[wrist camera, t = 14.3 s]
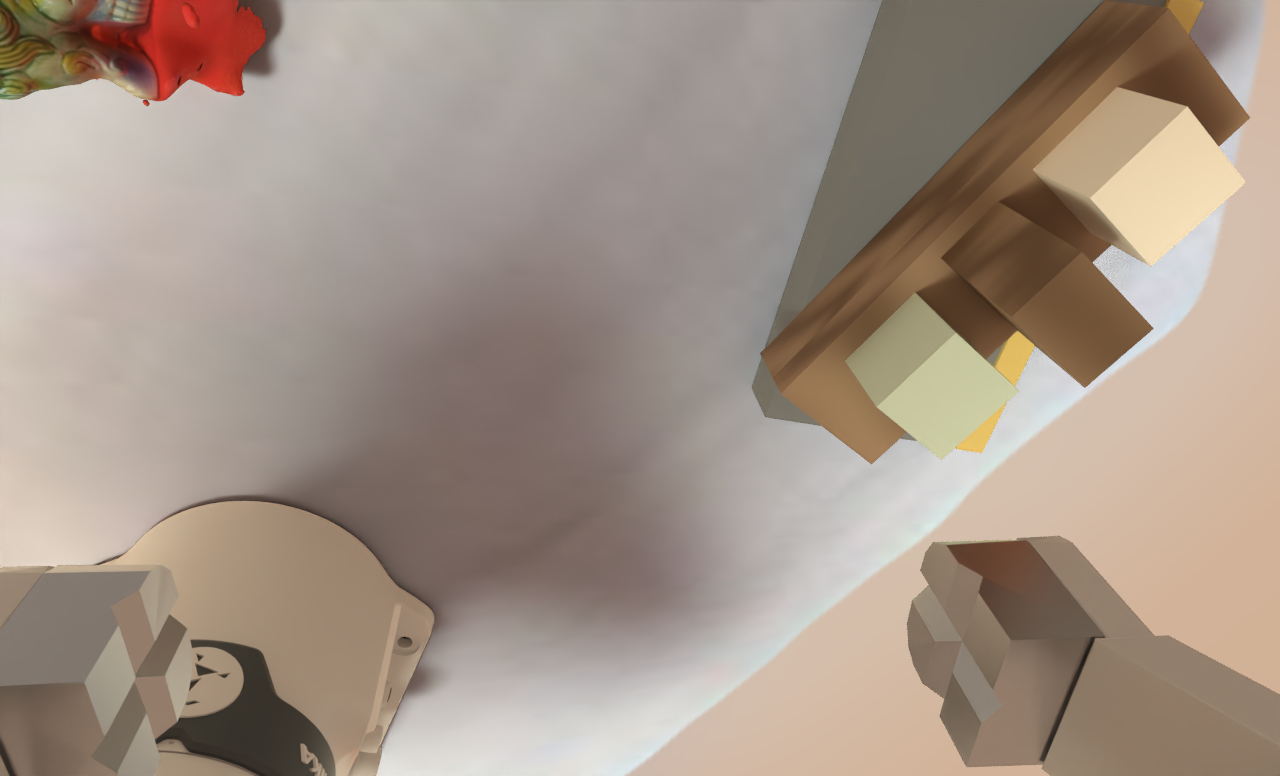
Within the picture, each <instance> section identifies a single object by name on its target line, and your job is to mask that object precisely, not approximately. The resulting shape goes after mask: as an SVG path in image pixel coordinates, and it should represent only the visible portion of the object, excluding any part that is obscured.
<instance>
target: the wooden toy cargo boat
mask: <svg viewBox="0 0 1280 776" xmlns="http://www.w3.org/2000/svg"><path fill="white" fill-rule="evenodd" d="M1117 87H1119V88H1123V89H1126V90H1130V91H1134V92H1137V93H1141V94H1144V95H1148V96H1152V97H1155V98H1159V99H1162V100H1166V101H1170V102H1173V103H1177V104H1180V105H1184V106H1188V108H1189V109H1190V110H1191V112H1192V113H1193V114H1194V116H1195V117H1196V118H1197V119H1198V121H1199V122H1200V123H1201V125H1202V126H1203V127H1204V128H1205V130H1206V131H1207V132H1208V134H1209V135H1210V136H1211V138H1212V139H1213V140H1214V141H1215V143H1216V144H1217V145H1218V147H1219V146H1220V145H1221V144H1222V143H1223V142H1224V141H1225V140H1227V139H1228V138H1229V137H1230V136H1231V135H1232V134H1233V133H1234V132H1235V131H1236V130H1237V129H1239V128H1240V127H1241V126H1242V125H1243V124H1244V123H1245V122H1246V121H1247V120H1248V119H1249V118H1250V117H1249V116H1248V114H1247V113H1246V111H1245V110H1244V109H1243V107H1242V106H1241V105H1240V103H1239V102H1238V101H1237V99H1236V98H1235V97H1234V95H1233V94H1232V93H1231V91H1230V90H1229V89H1228V87H1227V86H1226V84H1225V83H1224V82H1223V80H1222V79H1221V78H1220V76H1219V75H1218V74H1217V72H1216V71H1215V70H1214V68H1213V67H1212V66H1211V64H1210V63H1209V62H1208V60H1207V59H1206V57H1205V56H1204V55H1203V53H1202V52H1201V51H1200V49H1199V48H1198V47H1197V45H1196V44H1195V43H1194V41H1193V40H1192V39H1191V37H1190V36H1189V35H1188V33H1187V32H1186V30H1185V29H1184V28H1183V26H1182V25H1181V24H1180V22H1179V21H1178V20H1177V18H1176V17H1175V16H1174V14H1173V13H1172V12H1171V10H1170V9H1169V8H1163V7H1155V6H1148V5H1140V4H1132V3H1124V2H1116V1H1108V0H1105V1H1104V2H1103V3H1102V4H1101V5H1100V6H1099V7H1098V8H1097V9H1096V10H1095V11H1094V12H1093V13H1092V14H1091V15H1090V16H1089V17H1088V18H1087V19H1086V20H1085V21H1084V22H1083V24H1082V25H1081V26H1080V27H1079V28H1078V29H1077V30H1076V31H1075V32H1074V33H1073V34H1072V35H1071V36H1070V37H1069V38H1068V39H1067V40H1066V41H1065V42H1064V43H1063V44H1062V45H1061V46H1060V47H1059V48H1058V49H1057V50H1056V51H1055V52H1054V53H1053V54H1052V55H1051V56H1050V57H1049V58H1048V59H1047V60H1046V61H1045V62H1044V63H1043V64H1042V66H1041V67H1040V68H1039V69H1038V70H1037V71H1036V72H1035V73H1034V74H1033V75H1032V76H1031V77H1030V78H1029V79H1028V80H1027V81H1026V82H1025V83H1024V84H1023V85H1022V86H1021V87H1020V88H1019V89H1018V90H1017V91H1016V92H1015V93H1014V94H1013V95H1012V96H1011V97H1010V98H1009V99H1008V100H1007V101H1006V102H1005V103H1004V104H1003V105H1002V106H1001V108H1000V109H999V110H998V111H997V112H996V113H995V114H994V115H993V116H992V117H991V118H990V119H989V120H988V121H987V122H986V123H985V124H984V125H983V126H982V127H981V128H980V129H979V130H978V131H977V132H976V133H975V134H974V135H973V136H972V137H971V138H970V139H969V140H968V141H967V142H966V143H965V144H964V145H963V146H962V147H961V148H960V150H959V151H958V152H957V153H956V154H955V155H954V156H953V157H952V158H951V159H950V160H949V161H948V162H947V163H946V164H945V165H944V166H943V167H942V168H941V169H940V170H939V171H938V172H937V173H936V174H935V175H934V176H933V177H932V178H931V179H930V180H929V181H928V182H927V183H926V184H925V185H924V186H923V187H922V188H921V189H920V190H919V192H918V193H917V194H916V195H915V196H914V197H913V198H912V199H911V200H910V201H909V202H908V203H907V204H906V205H905V206H904V207H903V208H902V209H901V210H900V211H899V212H898V213H897V214H896V215H895V216H894V217H893V218H892V219H891V220H890V221H889V222H888V223H887V224H886V225H885V226H884V227H883V228H882V229H881V230H880V231H879V232H878V234H877V235H876V236H875V237H874V238H873V239H872V240H871V241H870V242H869V243H868V244H867V245H866V246H865V247H864V248H863V249H862V250H861V251H860V252H859V253H858V254H857V255H856V256H855V257H854V258H853V259H852V260H851V261H850V262H849V263H848V264H847V265H846V266H845V267H844V268H843V269H842V270H841V271H840V272H839V273H838V274H837V276H836V277H835V278H834V279H833V280H832V281H831V282H830V283H829V284H828V285H827V286H826V287H825V288H824V289H823V290H822V291H821V292H820V293H819V294H818V295H817V296H816V297H815V298H814V299H813V300H812V301H811V302H810V303H809V304H808V305H807V306H806V307H805V308H804V309H803V310H802V311H801V312H800V313H799V314H798V315H797V316H796V318H795V319H794V320H793V321H792V322H791V323H790V324H789V325H788V326H787V327H786V328H785V329H784V330H783V331H782V332H781V333H780V334H779V335H778V336H777V337H776V338H775V339H774V340H773V341H772V342H771V343H770V344H769V345H768V346H767V347H766V348H765V349H764V350H763V351H762V352H761V353H760V354H761V356H762V358H763V360H764V362H765V364H766V366H767V368H768V370H769V372H770V373H771V375H772V377H773V379H774V381H775V383H776V385H777V387H778V389H779V391H780V393H781V394H782V395H783V396H784V397H785V398H787V399H788V400H789V401H791V402H792V403H793V404H794V405H796V406H797V407H798V408H800V409H801V410H802V411H803V412H805V413H806V414H807V415H809V416H810V417H811V418H812V419H814V420H815V421H816V422H818V423H819V424H820V425H822V426H823V427H824V428H825V429H827V430H828V431H829V432H831V433H832V434H833V435H834V436H836V437H837V438H838V439H840V440H841V441H842V442H843V443H845V444H846V445H847V446H849V447H850V448H851V449H852V450H854V451H855V452H856V453H858V454H859V455H860V456H861V457H863V458H864V459H865V460H867V461H868V462H869V463H870V464H872V463H873V462H875V461H876V460H877V459H878V458H879V457H880V456H881V455H882V454H883V453H884V452H886V451H887V450H888V449H889V448H890V447H891V446H892V445H893V444H894V443H895V442H896V441H898V440H899V439H900V438H901V437H902V436H903V435H904V434H905V433H906V431H905V430H904V429H903V428H902V427H900V426H899V425H898V424H897V423H895V422H894V421H893V420H892V419H891V418H889V417H888V416H887V415H886V414H884V413H883V412H882V411H881V410H880V409H878V408H877V407H876V405H875V404H874V402H873V401H872V400H871V398H870V397H869V395H868V394H867V392H866V391H865V389H864V388H863V387H862V385H861V384H860V382H859V381H858V379H857V378H856V376H855V375H854V373H853V372H852V371H851V369H850V368H849V366H848V365H847V363H846V362H845V360H846V359H847V358H848V357H849V356H851V355H852V354H853V353H854V352H855V351H856V350H857V349H858V348H859V347H860V346H861V345H862V344H863V343H864V342H865V341H866V340H867V339H868V338H869V337H870V336H871V335H872V334H873V333H874V332H875V331H876V330H877V329H878V328H879V327H880V326H881V325H882V324H883V323H884V322H885V321H886V320H887V319H888V318H889V317H890V316H892V315H893V314H894V313H895V312H896V311H897V310H898V309H899V308H900V307H901V306H902V305H903V304H904V303H905V302H906V301H907V300H908V299H909V298H910V297H911V296H912V295H913V294H914V293H916V294H917V295H918V296H919V297H921V298H922V299H923V300H924V301H925V302H926V303H927V304H928V305H929V306H930V307H931V308H933V309H934V310H935V311H936V312H937V313H938V314H939V315H940V316H941V317H942V318H943V319H944V320H946V321H947V322H948V323H949V324H950V325H951V326H952V327H953V328H954V329H955V330H956V331H958V332H959V333H960V334H961V335H962V336H963V337H964V338H965V339H966V340H967V341H968V342H969V343H971V344H972V345H973V346H974V347H975V348H976V349H977V350H978V351H979V352H980V353H981V354H982V355H983V356H984V357H985V358H986V359H987V358H988V357H989V356H990V355H992V354H993V353H994V352H995V351H996V350H997V349H998V348H999V347H1000V346H1001V345H1002V344H1004V343H1005V342H1006V341H1007V340H1008V339H1009V338H1010V337H1011V336H1012V335H1013V334H1014V333H1016V332H1017V331H1019V332H1020V333H1021V334H1022V335H1023V336H1025V337H1026V338H1027V339H1028V340H1029V341H1030V342H1032V343H1033V344H1034V345H1035V346H1036V347H1037V348H1039V349H1040V350H1041V351H1042V352H1043V353H1044V354H1046V355H1047V356H1048V357H1049V358H1050V359H1051V360H1053V361H1054V362H1055V363H1056V364H1057V365H1059V366H1060V367H1061V368H1062V369H1063V370H1064V371H1066V372H1067V373H1068V374H1069V375H1070V376H1071V377H1073V378H1074V379H1075V380H1076V381H1077V382H1078V383H1080V384H1081V385H1082V386H1083V387H1084V388H1085V387H1086V386H1088V385H1089V384H1090V383H1091V382H1092V381H1093V380H1095V379H1096V378H1097V377H1098V376H1099V375H1100V374H1101V373H1103V372H1104V371H1105V370H1106V369H1107V368H1108V367H1110V366H1111V365H1112V364H1113V363H1114V362H1115V361H1117V360H1118V359H1119V358H1120V357H1121V356H1122V355H1123V354H1125V353H1126V352H1127V351H1128V350H1129V349H1130V348H1132V347H1133V346H1134V345H1135V344H1136V343H1137V342H1139V341H1140V340H1141V339H1142V338H1143V337H1144V336H1146V335H1147V334H1148V333H1149V332H1150V331H1151V330H1152V329H1154V328H1153V327H1152V326H1151V325H1150V324H1149V323H1148V322H1147V321H1146V320H1145V319H1144V318H1143V317H1142V316H1141V314H1140V313H1139V312H1138V311H1137V310H1136V309H1135V308H1134V307H1133V306H1132V305H1131V304H1130V303H1129V302H1128V301H1127V299H1126V298H1125V297H1124V296H1123V295H1122V294H1121V293H1120V292H1119V291H1118V290H1117V289H1116V288H1115V287H1114V286H1113V285H1112V283H1111V282H1110V281H1109V280H1108V279H1107V278H1106V277H1105V276H1104V275H1103V274H1102V273H1101V272H1100V271H1099V270H1098V269H1097V267H1096V266H1095V265H1094V264H1093V263H1092V262H1093V261H1094V260H1095V259H1096V258H1098V257H1099V256H1100V255H1101V254H1102V253H1103V252H1104V251H1105V250H1106V249H1107V248H1108V247H1110V246H1111V244H1110V243H1108V242H1106V241H1104V240H1102V239H1101V238H1099V237H1097V236H1095V235H1094V234H1092V233H1090V232H1089V231H1088V230H1087V229H1086V228H1085V227H1084V225H1083V224H1082V223H1081V222H1080V221H1079V220H1078V219H1077V218H1076V217H1075V216H1074V215H1073V213H1072V212H1071V211H1070V210H1069V209H1068V208H1067V207H1066V206H1065V205H1064V204H1063V202H1062V201H1061V200H1060V199H1059V198H1058V197H1057V196H1056V195H1055V194H1054V193H1053V191H1052V190H1051V189H1050V188H1049V187H1048V186H1047V185H1046V184H1045V183H1044V182H1043V181H1042V179H1041V178H1040V177H1039V176H1038V175H1037V174H1036V173H1035V172H1034V171H1033V169H1034V168H1035V167H1036V166H1037V165H1038V164H1039V163H1040V162H1041V161H1042V160H1043V159H1044V158H1045V157H1046V156H1047V155H1048V154H1049V153H1050V152H1051V151H1052V150H1053V149H1054V148H1055V147H1056V146H1057V145H1058V144H1059V143H1060V142H1061V141H1062V140H1063V139H1064V138H1065V137H1066V136H1067V135H1068V134H1070V133H1071V132H1072V131H1073V130H1074V129H1075V128H1076V127H1077V126H1078V125H1079V124H1080V123H1081V122H1082V121H1083V120H1084V119H1085V118H1086V117H1087V116H1088V115H1089V114H1090V113H1091V112H1092V111H1093V110H1094V109H1095V108H1096V107H1097V106H1098V105H1099V104H1100V103H1101V102H1102V101H1103V100H1104V99H1105V98H1106V97H1107V96H1108V95H1109V94H1110V93H1111V92H1112V91H1113V90H1114V89H1116V88H1117Z"/></svg>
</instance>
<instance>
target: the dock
mask: <svg viewBox="0 0 1280 776" xmlns="http://www.w3.org/2000/svg"><path fill="white" fill-rule="evenodd" d="M1104 1H1105V0H883V1H882V4H881V7H880V10H879V13H878V15H877V18H876V21H875V24H874V27H873V30H872V33H871V36H870V39H869V42H868V45H867V48H866V51H865V54H864V57H863V60H862V63H861V66H860V69H859V72H858V75H857V78H856V81H855V84H854V87H853V89H852V92H851V95H850V98H849V101H848V104H847V107H846V110H845V113H844V116H843V119H842V122H841V125H840V128H839V131H838V134H837V137H836V140H835V143H834V146H833V149H832V152H831V155H830V158H829V161H828V163H827V166H826V169H825V172H824V175H823V178H822V181H821V184H820V187H819V190H818V193H817V196H816V199H815V202H814V205H813V208H812V211H811V214H810V217H809V220H808V223H807V226H806V229H805V232H804V234H803V237H802V240H801V243H800V246H799V249H798V252H797V255H796V258H795V261H794V264H793V267H792V270H791V273H790V276H789V279H788V282H787V285H786V288H785V291H784V294H783V297H782V300H781V303H780V306H779V308H778V311H777V314H776V317H775V320H774V323H773V326H772V329H771V332H770V335H769V338H768V341H767V344H766V347H767V346H768V345H769V344H770V343H771V342H772V341H773V340H774V339H775V338H776V337H777V336H778V335H779V334H780V333H781V332H782V331H783V330H784V329H785V328H786V327H787V326H788V325H789V324H790V323H791V322H792V321H793V320H794V319H795V318H796V316H797V315H798V314H799V313H800V312H801V311H802V310H803V309H804V308H805V307H806V306H807V305H808V304H809V303H810V302H811V301H812V300H813V299H814V298H815V297H816V296H817V295H818V294H819V293H820V292H821V291H822V290H823V289H824V288H825V287H826V286H827V285H828V284H829V283H830V282H831V281H832V280H833V279H834V278H835V277H836V276H837V274H838V273H839V272H840V271H841V270H842V269H843V268H844V267H845V266H846V265H847V264H848V263H849V262H850V261H851V260H852V259H853V258H854V257H855V256H856V255H857V254H858V253H859V252H860V251H861V250H862V249H863V248H864V247H865V246H866V245H867V244H868V243H869V242H870V241H871V240H872V239H873V238H874V237H875V236H876V235H877V234H878V232H879V231H880V230H881V229H882V228H883V227H884V226H885V225H886V224H887V223H888V222H889V221H890V220H891V219H892V218H893V217H894V216H895V215H896V214H897V213H898V212H899V211H900V210H901V209H902V208H903V207H904V206H905V205H906V204H907V203H908V202H909V201H910V200H911V199H912V198H913V197H914V196H915V195H916V194H917V193H918V192H919V190H920V189H921V188H922V187H923V186H924V185H925V184H926V183H927V182H928V181H929V180H930V179H931V178H932V177H933V176H934V175H935V174H936V173H937V172H938V171H939V170H940V169H941V168H942V167H943V166H944V165H945V164H946V163H947V162H948V161H949V160H950V159H951V158H952V157H953V156H954V155H955V154H956V153H957V152H958V151H959V150H960V148H961V147H962V146H963V145H964V144H965V143H966V142H967V141H968V140H969V139H970V138H971V137H972V136H973V135H974V134H975V133H976V132H977V131H978V130H979V129H980V128H981V127H982V126H983V125H984V124H985V123H986V122H987V121H988V120H989V119H990V118H991V117H992V116H993V115H994V114H995V113H996V112H997V111H998V110H999V109H1000V108H1001V106H1002V105H1003V104H1004V103H1005V102H1006V101H1007V100H1008V99H1009V98H1010V97H1011V96H1012V95H1013V94H1014V93H1015V92H1016V91H1017V90H1018V89H1019V88H1020V87H1021V86H1022V85H1023V84H1024V83H1025V82H1026V81H1027V80H1028V79H1029V78H1030V77H1031V76H1032V75H1033V74H1034V73H1035V72H1036V71H1037V70H1038V69H1039V68H1040V67H1041V66H1042V64H1043V63H1044V62H1045V61H1046V60H1047V59H1048V58H1049V57H1050V56H1051V55H1052V54H1053V53H1054V52H1055V51H1056V50H1057V49H1058V48H1059V47H1060V46H1061V45H1062V44H1063V43H1064V42H1065V41H1066V40H1067V39H1068V38H1069V37H1070V36H1071V35H1072V34H1073V33H1074V32H1075V31H1076V30H1077V29H1078V28H1079V27H1080V26H1081V25H1082V24H1083V22H1084V21H1085V20H1086V19H1087V18H1088V17H1089V16H1090V15H1091V14H1092V13H1093V12H1094V11H1095V10H1096V9H1097V8H1098V7H1099V6H1100V5H1101V4H1102V3H1103V2H1104ZM1108 1H1116V2H1124V3H1132V4H1140V5H1148V6H1155V7H1163V8H1169V9H1170V10H1171V12H1172V13H1173V14H1174V16H1175V17H1176V18H1177V20H1178V21H1179V22H1180V24H1181V25H1182V26H1183V28H1184V29H1185V30H1186V32H1187V33H1188V35H1189V33H1190V31H1191V29H1192V27H1193V25H1194V23H1195V21H1196V19H1197V17H1198V15H1199V13H1200V11H1201V9H1202V7H1203V5H1204V3H1205V2H1201V1H1198V0H1108ZM766 347H765V348H766ZM1034 347H1035V345H1034V344H1033V343H1032V342H1030V341H1029V340H1028V339H1027V338H1026V337H1025V336H1023V335H1022V334H1021V333H1020V332H1019V331H1017V332H1016V333H1014V334H1013V335H1012V336H1011V337H1010V338H1009V339H1008V340H1007V341H1006V342H1005V343H1004V344H1002V345H1001V346H1000V347H999V348H998V349H997V350H996V351H995V352H994V353H993V354H992V355H990V356H989V357H988V358H987V360H988V361H989V362H990V363H991V364H992V365H993V366H994V367H995V368H996V369H997V370H998V371H999V372H1000V373H1001V374H1002V375H1003V376H1005V377H1006V378H1007V379H1008V380H1009V381H1010V382H1011V383H1012V384H1013V385H1014V386H1015V385H1016V383H1017V381H1018V379H1019V377H1020V375H1021V373H1022V371H1023V369H1024V367H1025V365H1026V363H1027V361H1028V359H1029V357H1030V355H1031V353H1032V351H1033V349H1034ZM752 390H753V392H754V394H755V396H756V398H757V400H758V402H759V405H760V407H761V409H762V411H763V413H764V415H765V417H769V418H775V419H781V420H788V421H794V422H800V423H807V424H813V425H819V426H822V425H820V424H819V423H818V422H816V421H815V420H814V419H812V418H811V417H810V416H809V415H807V414H806V413H805V412H803V411H802V410H801V409H800V408H798V407H797V406H796V405H794V404H793V403H792V402H791V401H789V400H788V399H787V398H785V397H784V396H783V395H782V394H781V393H780V391H779V389H778V387H777V385H776V383H775V381H774V379H773V377H772V375H771V373H770V372H769V370H768V368H767V366H766V364H765V362H764V360H763V358H762V359H761V362H760V365H759V368H758V371H757V374H756V377H755V380H754V382H753V385H752ZM1006 403H1007V402H1006ZM1006 403H1005V404H1004V405H1003V406H1002V407H1001V408H999V409H998V410H997V411H996V412H995V413H994V414H993V415H992V416H990V417H989V418H988V419H987V420H986V421H985V422H984V423H983V424H981V425H980V426H979V427H978V428H977V429H976V430H975V431H973V432H972V433H971V434H970V435H969V436H968V437H967V438H966V439H964V440H963V441H962V442H961V443H960V444H959V445H958V446H957V447H955V448H956V449H960V450H966V451H972V452H979V453H982V452H983V450H984V448H985V446H986V444H987V442H988V440H989V438H990V436H991V434H992V432H993V430H994V428H995V426H996V423H997V421H998V419H999V417H1000V415H1001V413H1002V411H1003V409H1004V407H1005V405H1006ZM901 439H908V440H914V441H917V440H916V439H915V438H914V437H913V436H911V435H910V434H909V433H908V432H906V433H905V434H904V435H903V436H902V437H901Z"/></svg>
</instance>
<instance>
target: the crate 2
mask: <svg viewBox="0 0 1280 776" xmlns="http://www.w3.org/2000/svg"><path fill="white" fill-rule="evenodd" d="M1033 171H1034V172H1035V173H1036V174H1037V175H1038V176H1039V177H1040V178H1041V179H1042V181H1043V182H1044V183H1045V184H1046V185H1047V186H1048V187H1049V188H1050V189H1051V190H1052V191H1053V193H1054V194H1055V195H1056V196H1057V197H1058V198H1059V199H1060V200H1061V201H1062V202H1063V204H1064V205H1065V206H1066V207H1067V208H1068V209H1069V210H1070V211H1071V212H1072V213H1073V215H1074V216H1075V217H1076V218H1077V219H1078V220H1079V221H1080V222H1081V223H1082V224H1083V225H1084V227H1085V228H1086V229H1087V230H1088V231H1089V232H1090V233H1092V234H1094V235H1095V236H1097V237H1099V238H1101V239H1102V240H1104V241H1106V242H1108V243H1110V244H1111V245H1113V246H1115V247H1117V248H1119V249H1120V250H1122V251H1124V252H1126V253H1127V254H1129V255H1131V256H1133V257H1135V258H1136V259H1138V260H1140V261H1142V262H1144V263H1145V264H1147V265H1149V266H1152V265H1153V264H1155V263H1156V262H1157V261H1158V260H1159V259H1160V258H1161V257H1162V256H1164V255H1165V254H1166V253H1167V252H1168V251H1169V250H1170V249H1171V248H1173V247H1174V246H1175V245H1176V244H1177V243H1178V242H1179V241H1181V240H1182V239H1183V238H1184V237H1185V236H1186V235H1187V234H1188V233H1190V232H1191V231H1192V230H1193V229H1194V228H1195V227H1196V226H1197V225H1199V224H1200V223H1201V222H1202V221H1203V220H1204V219H1205V218H1206V217H1208V216H1209V215H1210V214H1211V213H1212V212H1213V211H1214V210H1215V209H1217V208H1218V207H1219V206H1220V205H1221V204H1222V203H1223V202H1224V201H1226V200H1227V199H1228V198H1229V197H1230V196H1231V195H1232V194H1233V193H1235V192H1236V191H1237V190H1238V189H1239V188H1240V187H1241V186H1242V185H1244V183H1246V182H1245V180H1244V179H1243V178H1242V176H1241V175H1240V174H1239V173H1238V171H1237V170H1236V169H1235V167H1234V166H1233V165H1232V163H1231V162H1230V161H1229V160H1228V158H1227V157H1226V156H1225V154H1224V153H1223V152H1222V151H1221V149H1220V148H1219V147H1218V145H1217V144H1216V143H1215V141H1214V140H1213V139H1212V138H1211V136H1210V135H1209V134H1208V132H1207V131H1206V130H1205V128H1204V127H1203V126H1202V125H1201V123H1200V122H1199V121H1198V119H1197V118H1196V117H1195V116H1194V114H1193V113H1192V112H1191V110H1190V109H1189V108H1188V106H1184V105H1180V104H1177V103H1173V102H1170V101H1166V100H1162V99H1159V98H1155V97H1152V96H1148V95H1144V94H1141V93H1137V92H1134V91H1130V90H1126V89H1123V88H1119V87H1117V88H1116V89H1114V90H1113V91H1112V92H1111V93H1110V94H1109V95H1108V96H1107V97H1106V98H1105V99H1104V100H1103V101H1102V102H1101V103H1100V104H1099V105H1098V106H1097V107H1096V108H1095V109H1094V110H1093V111H1092V112H1091V113H1090V114H1089V115H1088V116H1087V117H1086V118H1085V119H1084V120H1083V121H1082V122H1081V123H1080V124H1079V125H1078V126H1077V127H1076V128H1075V129H1074V130H1073V131H1072V132H1071V133H1070V134H1068V135H1067V136H1066V137H1065V138H1064V139H1063V140H1062V141H1061V142H1060V143H1059V144H1058V145H1057V146H1056V147H1055V148H1054V149H1053V150H1052V151H1051V152H1050V153H1049V154H1048V155H1047V156H1046V157H1045V158H1044V159H1043V160H1042V161H1041V162H1040V163H1039V164H1038V165H1037V166H1036V167H1035V168H1034V169H1033Z"/></svg>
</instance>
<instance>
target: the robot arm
mask: <svg viewBox="0 0 1280 776" xmlns="http://www.w3.org/2000/svg"><path fill="white" fill-rule="evenodd" d="M920 571H921V572H922V574H923V576H924V577H925V579H926V581H927V582H928V584H929V586H927V587H926V588H925V589H924V590H923V591H922V592H921V593H920V594H919V595H918V596H917V597H916V598H914V599H913V600H912V604H911V609H910V613H909V617H908V622H907V630H908V646H909V650H910V654H911V657H912V661H913V664H914V667H915V669H916V671H917V673H918V675H919V677H920V679H921V681H922V683H923V684H924V685H926V686H927V687H928V688H930V689H931V690H933V691H934V692H935V693H937V694H938V695H940V696H941V697H942V698H944V702H943V706H942V709H941V713H940V718H941V720H942V722H943V723H944V725H945V727H946V729H947V731H948V733H949V735H950V737H951V739H952V741H953V742H954V744H955V746H956V748H957V750H958V752H959V754H960V756H961V758H962V760H963V761H964V763H965V765H966V767H984V766H1012V765H1040V764H1041V765H1042V764H1043V766H1042V769H1043V770H1044V771H1045V772H1047V773H1048V774H1049V775H1050V776H1280V694H1278V693H1276V692H1274V691H1272V690H1270V689H1269V688H1267V687H1265V686H1263V685H1261V684H1259V683H1257V682H1255V681H1253V680H1251V679H1250V678H1248V677H1246V676H1244V675H1242V674H1240V673H1238V672H1236V671H1234V670H1232V669H1231V668H1229V667H1227V666H1225V665H1223V664H1221V663H1219V662H1217V661H1216V660H1213V659H1212V658H1210V657H1208V656H1206V655H1204V654H1202V653H1200V652H1198V651H1197V650H1195V649H1193V648H1191V647H1189V646H1187V645H1185V644H1183V643H1181V642H1179V641H1178V640H1176V639H1174V638H1172V637H1170V636H1155V635H1154V634H1153V633H1152V632H1151V631H1150V630H1149V629H1148V628H1147V626H1146V625H1145V624H1144V623H1143V622H1142V621H1141V620H1140V619H1139V618H1138V616H1137V615H1136V614H1135V613H1134V612H1133V611H1132V610H1131V608H1130V607H1129V606H1128V605H1127V604H1126V603H1125V602H1124V601H1123V599H1122V598H1121V597H1120V596H1119V595H1118V594H1117V593H1116V592H1115V590H1114V589H1113V588H1112V587H1111V586H1110V585H1109V584H1108V582H1107V581H1106V580H1105V579H1104V578H1103V577H1102V576H1101V575H1100V573H1099V572H1098V571H1097V570H1096V569H1095V568H1094V567H1093V565H1092V564H1091V563H1090V562H1089V561H1088V560H1087V559H1086V558H1085V556H1084V555H1083V554H1082V553H1081V552H1080V551H1079V550H1078V549H1077V548H1076V546H1075V545H1074V544H1073V543H1072V542H1070V541H1069V540H1067V539H1065V538H1063V537H1061V536H1049V537H1030V538H1017V539H1016V540H984V541H956V542H933V543H932V545H931V546H930V547H929V549H928V550H927V551H926V553H925V556H924V560H923V563H922V567H921V570H920ZM434 619H435V618H434V614H433V612H432V611H431V609H430V608H429V607H428V606H426V605H425V604H424V603H423V602H421V601H420V600H419V599H417V598H416V597H414V596H412V595H411V594H409V593H408V592H406V591H404V590H403V589H401V588H399V587H398V586H397V585H396V584H395V583H394V582H393V581H392V579H391V578H390V577H389V575H388V574H387V573H386V571H385V570H384V568H383V567H382V565H381V564H380V562H379V561H378V560H377V558H376V557H375V556H374V555H373V553H372V552H371V551H370V550H369V549H368V548H367V547H366V546H365V545H364V544H363V543H361V542H360V541H359V540H358V539H357V538H355V537H354V536H353V535H352V534H350V533H349V532H347V531H346V530H344V529H343V528H341V527H339V526H338V525H336V524H334V523H332V522H330V521H328V520H327V519H324V518H322V517H320V516H318V515H315V514H312V513H310V512H307V511H304V510H301V509H298V508H294V507H290V506H286V505H281V504H275V503H269V502H259V501H228V502H218V503H212V504H207V505H202V506H198V507H194V508H191V509H188V510H185V511H183V512H180V513H178V514H175V515H173V516H171V517H169V518H167V519H165V520H164V521H162V522H160V523H159V524H157V525H156V526H154V527H153V528H152V529H150V530H149V531H148V532H147V533H146V534H145V535H143V537H142V538H141V539H140V540H139V541H138V542H137V543H136V544H135V545H134V546H133V547H132V548H131V549H130V550H129V551H127V552H126V553H125V554H124V555H122V556H121V557H120V558H118V559H115V560H112V561H109V562H106V563H103V564H101V565H58V566H56V567H52V566H27V567H2V568H0V776H376V774H377V771H378V767H379V763H380V759H381V753H382V747H380V745H381V743H382V741H383V738H384V736H385V734H386V732H387V730H388V727H389V725H390V723H391V721H392V719H393V716H394V714H395V712H396V710H397V708H398V705H399V703H400V701H401V699H402V696H403V694H404V692H405V690H406V688H407V685H408V683H409V681H410V679H411V677H412V674H413V672H414V670H415V668H416V666H417V663H418V661H419V659H420V657H421V655H422V652H423V650H424V648H425V646H426V644H427V641H428V639H429V637H430V635H431V631H432V628H433V624H434ZM402 637H409V638H408V639H405V638H402Z"/></svg>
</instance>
